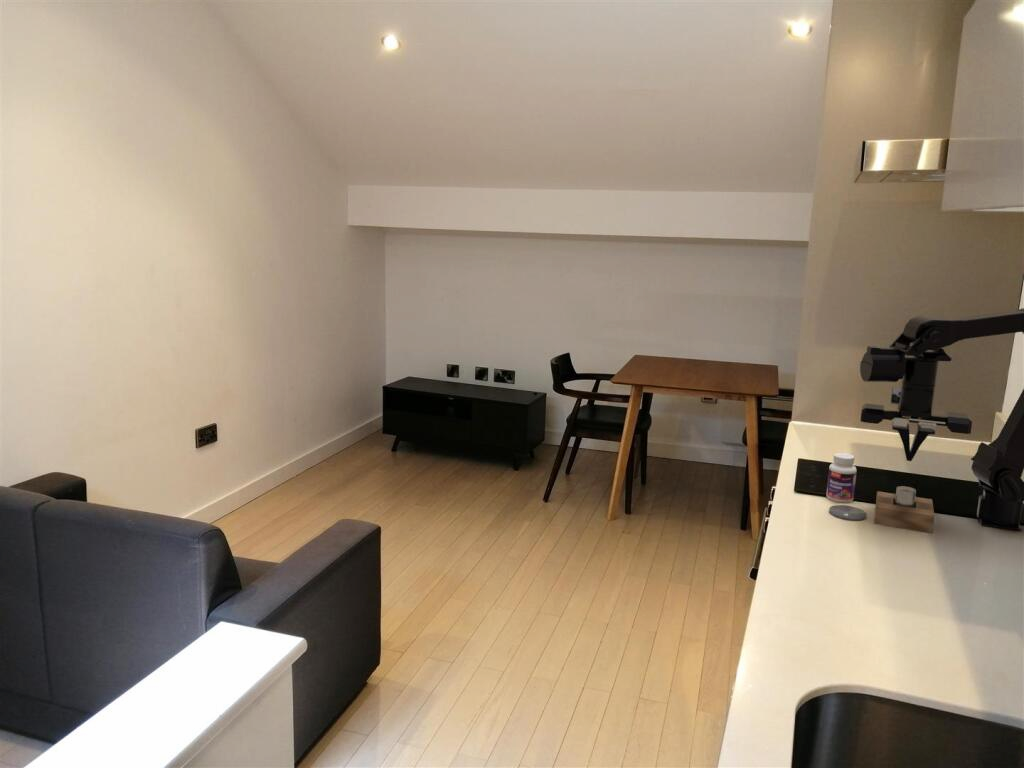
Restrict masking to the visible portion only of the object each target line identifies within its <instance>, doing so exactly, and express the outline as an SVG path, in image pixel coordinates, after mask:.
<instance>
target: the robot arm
mask: <svg viewBox="0 0 1024 768" xmlns="http://www.w3.org/2000/svg"><path fill="white" fill-rule="evenodd" d="M1015 333H1016V334H1017V333H1022V334H1023V335H1024V307H1023V308H1019V309H1017V310H1011V311H1004V312H1002V311H1000V312H994V313H987V314H980V315H972V316H971V315H970V316H964V317H941V316H940V317H939V316H915V317H913V318H910V319H909V320H908V322H907V323H906V324H905V326H904V328H903V331H902V333H900V334H899V336H898V337H896V339H894V341H893V342H892V343H891V344H890V345H889V347H878V346H875V345H873V346H872V345H871V346H870V345H868V346H866V347H867V348H866V352H865V353H864V355H862V356H863V357H862V358H861V361H860V364H859V372H860V377H861V379H862V381H863V382H867V383H868V382H869V383H897V382H898V381H899V380H901V387H900V388H899V387H892V388H891V397H890V405H896V406H897V405H898V406H897V409H898V411H897V410H888V409H885V405H883V404H875V403H874V404H873V403H865V404H863V405H862V406H861V413H860V414H861V415H860V422H861V423H867V424H873V425H874V424H877V425H879V424H880V423H881V422H883V421H884V420H888V421H891V426H892V427H891V429H892V430H893V431H897V432H898V435H899V438H900V440H901V442H902V446H903V449H904V455H905V459H906V461H907V462H912V460H913V459H914V458H915V456H916V454H917V452H918V451H919V448H920V447H921V446H922V444H923V442H924V441H925V440H926V439H927V438H928V436H929V435H935V434H936V430H935V428H936V427H937V426H939V427H940V426H941V427H946V428H947V429H948V430H949V432H951V433H954V434H955V433H956V434H965V435H971V432H972V427H973V421H972V419H971V417H970V415H969V414H968V413H962V412H953V411H946V413H945V415H937V414H933V408H934V400H935V394H936V393H935V392H936V385H937V384H936V383H937V376H938V371H939V370H938V369H939V362H951V361H952V357H951V356H950V355H948V353H947V352H946V351H945V349H944V348H946V347H949V346H952V345H954V344H956V343H958V342H960V341H961V342H962V341H963V340H967V339H968V340H969V339H975V338H985V337H991V336H999V335H1006V334H1007V335H1008V334H1015ZM910 423H911V424H912V423H913V424H916V427H915V431H914V436H913V440H912V443H910V442H911V441H910V437H911V436H910ZM910 444H911V445H910ZM970 460H971V461H973V462H972V463H971V470H972V473H973V475H974V476H975V477H976V479H977V480H978V484H979V486H980V487H981V488H983V492H982V495H979V496H978V503H977V504H978V505H977V510H976V517H977V519H979V521H980V524H981V525H982V526H985V527H986V526H988V527H992V528H993V527H994V528H1000V529H1005V530H1012V531H1018V532H1019V531H1021V529H1022V527H1021V525H1020V522H1021V516H1022V509H1023V502H1024V480H1023V479H1022V476H1023V473H1024V388H1023V389H1022V391H1021V393H1020V395H1019V397H1018V398H1017V401H1016V403H1015V404H1014V406H1013V408H1012V410H1011V412H1010V413H1009V415H1008V417H1007V419H1006V421H1005V423H1004V425H1003V427H1002V428H1001V430H1000V432H999V434H998V436H997V438H995V439H994V440H993V441H992V442H990V443H988V444H986V442H983V441H982V442H980V444H979V445H978V447H977V450H976V452H975V454H974V456H972V457H971V459H970Z"/></svg>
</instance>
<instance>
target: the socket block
mask: <svg viewBox="0 0 1024 768" xmlns="http://www.w3.org/2000/svg"><path fill="white" fill-rule="evenodd" d="M895 498H896V493H892V492H891V493H890V492H884V491H879V490H878V491H876V498H875V499H876V501H875V507H874V510H875V511H874V523H873V524H875V525H880V526H887V527H893V528H899V529H906V530H909V531H910V530H911V531H917V532H923V533H929V534H933V530H934V521H935V511H934V503H933V502H934V501H933V499H932V498H925V497H917V496H915V503H914V508H912V507H906V506H899V505H895Z"/></svg>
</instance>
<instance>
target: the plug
mask: <svg viewBox="0 0 1024 768" xmlns="http://www.w3.org/2000/svg"><path fill="white" fill-rule="evenodd" d="M916 493H917V490H916V488H913V487H911V486H905V485H902V486H901V485H900V486H896V491H895V494H896V498H895V505H899V506H906V507H912V508H914V503H915V497H916Z"/></svg>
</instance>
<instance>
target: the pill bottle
mask: <svg viewBox="0 0 1024 768" xmlns="http://www.w3.org/2000/svg"><path fill="white" fill-rule="evenodd" d="M854 464H855V456H854V455H852V454H849V453H844V452H836V453H834V454H833V462H832V463H831V464H830V465H829V466H828V467H829V468H828V476H827V485H826V498H828V500H829V501H833V502H837V503H852V502H853V500H854V497H855V490H856V488H855V487H856V481H857V472H858V471H857V468H856V466H855V465H854Z"/></svg>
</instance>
